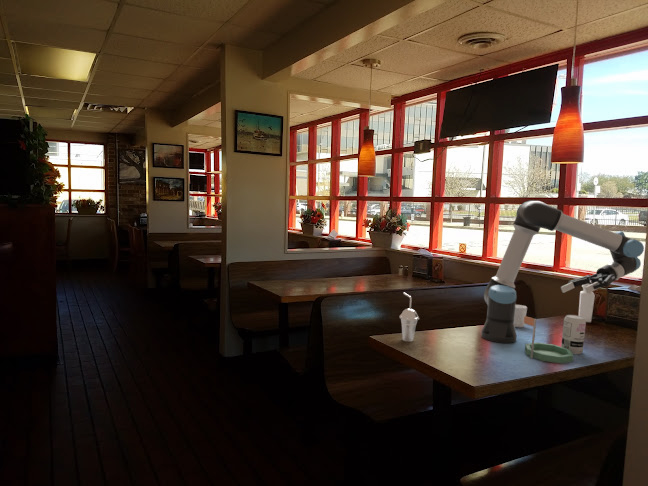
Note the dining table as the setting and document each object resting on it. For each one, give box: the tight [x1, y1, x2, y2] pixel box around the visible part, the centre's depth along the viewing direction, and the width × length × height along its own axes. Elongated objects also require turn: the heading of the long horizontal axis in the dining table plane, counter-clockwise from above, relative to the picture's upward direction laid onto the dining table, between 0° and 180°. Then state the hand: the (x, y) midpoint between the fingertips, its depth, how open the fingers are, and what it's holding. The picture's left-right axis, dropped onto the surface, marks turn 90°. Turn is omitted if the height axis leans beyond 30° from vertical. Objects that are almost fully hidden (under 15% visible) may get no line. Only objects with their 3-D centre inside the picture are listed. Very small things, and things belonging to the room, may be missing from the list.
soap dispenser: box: [578, 281, 596, 323], centre depth 254 cm, size 6×6×22 cm
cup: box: [524, 315, 574, 364], centre depth 191 cm, size 19×17×16 cm
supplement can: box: [560, 314, 587, 355], centre depth 198 cm, size 8×8×15 cm
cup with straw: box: [399, 292, 420, 342], centre depth 203 cm, size 8×9×20 cm
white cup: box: [514, 304, 528, 328], centre depth 237 cm, size 8×8×10 cm
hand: (574, 290), depth 203 cm, fingers open, 13 cm apart
